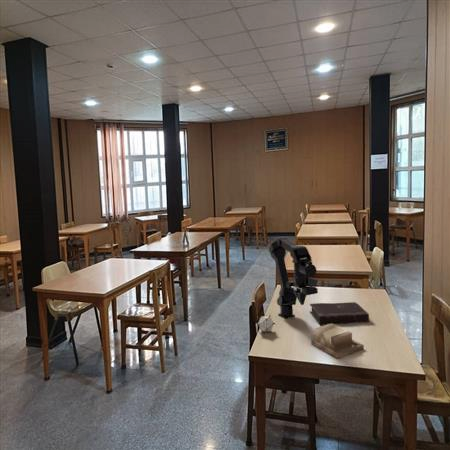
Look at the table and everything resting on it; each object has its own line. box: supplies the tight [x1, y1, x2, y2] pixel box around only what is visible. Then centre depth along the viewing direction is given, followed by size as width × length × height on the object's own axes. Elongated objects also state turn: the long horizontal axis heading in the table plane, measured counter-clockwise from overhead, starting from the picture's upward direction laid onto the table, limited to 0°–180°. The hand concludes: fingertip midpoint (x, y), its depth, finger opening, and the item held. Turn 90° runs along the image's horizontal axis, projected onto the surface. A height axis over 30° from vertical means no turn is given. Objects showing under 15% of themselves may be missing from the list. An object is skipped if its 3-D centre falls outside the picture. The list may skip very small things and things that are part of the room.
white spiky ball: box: [257, 314, 276, 334], centre depth 176 cm, size 9×8×10 cm
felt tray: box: [310, 339, 365, 360], centre depth 159 cm, size 15×15×2 cm
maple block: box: [314, 323, 353, 352], centre depth 161 cm, size 6×10×12 cm
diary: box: [309, 301, 370, 326], centre depth 191 cm, size 19×25×5 cm
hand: (302, 304), depth 177 cm, fingers closed
